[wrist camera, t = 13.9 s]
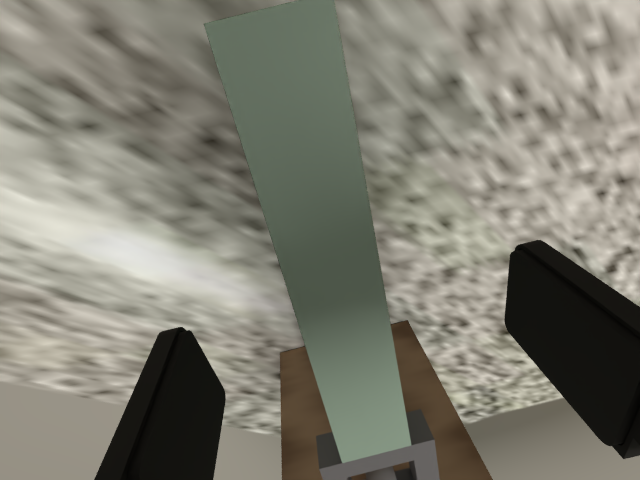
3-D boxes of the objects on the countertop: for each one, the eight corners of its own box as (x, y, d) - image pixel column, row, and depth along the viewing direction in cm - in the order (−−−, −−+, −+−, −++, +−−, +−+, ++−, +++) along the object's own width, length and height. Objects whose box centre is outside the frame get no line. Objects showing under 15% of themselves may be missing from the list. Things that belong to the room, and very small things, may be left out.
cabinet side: (399, 256, 27) (640, 610, 9) (410, 343, 31) (584, 691, 14) (256, 292, 27) (219, 721, 9) (288, 374, 31) (305, 765, 14)
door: (322, 51, 18) (375, -20, 7) (380, 349, 26) (443, 507, 16) (231, 73, 18) (160, 34, 7) (319, 364, 26) (342, 532, 16)
